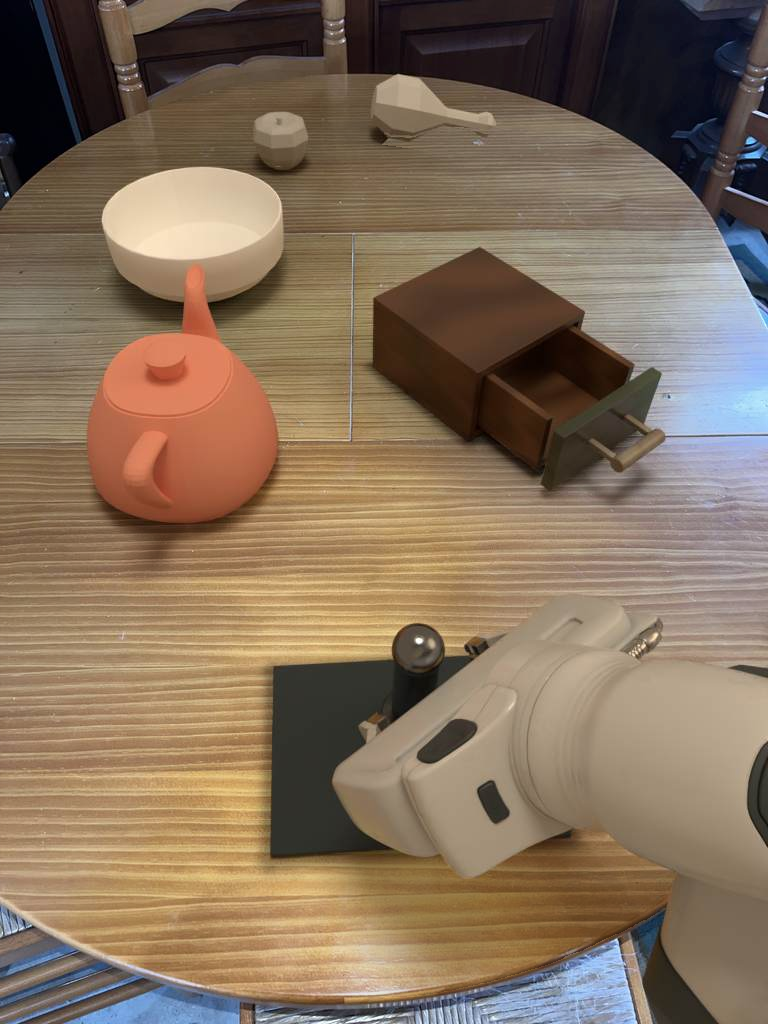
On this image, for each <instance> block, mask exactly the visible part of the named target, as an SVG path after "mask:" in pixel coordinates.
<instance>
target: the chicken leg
mask: <svg viewBox="0 0 768 1024" xmlns="http://www.w3.org/2000/svg"><path fill="white" fill-rule="evenodd" d="M370 119H371V121H372V122H373V123H374V124H375V125H376V126H377V127H378V129H379V130H380V131H381V132H382V131H383V132H385V133H388V134H390V135H394V134H395V135H410V136H413V135H416V134H419V133H422V132H425V131H429V130H432V129H435V128H437V129H439V128H441V127H449V128H454V127H464V128H479V129H483V130H492V129H494V128H495V129H496V127H497V122H496V119H495V117H494V116H493V113H491V112H489V111H483V112H479V113H475V112H470V111H464V110H460V109H455V108H449V107H447V106H446V105H445V104H444V103H443V102H442V101H441V100H440V99H439V97H438V96H437V95H435V94H434V92H433V91H432V90H431V89H430V88H429V87H428V86H427V85H426V84H425V83H424V82H423V81H422V79H421V78H419V77H414V76H409V75H404V74H400V73H397V74H395V75H394V76H391V77H390V78H387V79H386V80H385V81H382V82H380V83H379V84H376V85H375V88H374V91H373V95H372V100H371V105H370ZM438 127H439V128H438ZM435 130H436V129H435ZM468 131H469V132H470V130H468ZM383 132H382V133H383ZM473 132H474V133H476V135H477V136H480V137H481V138H487V137H488V136H490V135H491V134H492V133H493V132H491V133H490V134H483V133H480V132H477V131H473ZM426 134H427V133H425V134H422V135H419V136H416V137H412V138H405V137H390V136H386V138H387V139H393V140H398V141H403V142H408V143H410V142H412V141H413V140H416V139H418V138H420V137H422V136H424V135H426Z"/></svg>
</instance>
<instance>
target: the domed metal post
mask: <svg viewBox="0 0 768 1024" xmlns="http://www.w3.org/2000/svg"><path fill="white" fill-rule="evenodd" d="M445 655H446V646H445V642H444V639H443V637H442V635H441V634H440V632H439V631H438V630H437V629H436V628H434V627H433V626H431V625H429V624H427V623H423V622H413V623H410V624H407V625H405V626H403V627H402V628H401V629H399V631H398V632H397V633H396V634H395V636H394V638H393V640H392V643H391V656H392V660H394V672H393V690H392V692H391V693H390V694H389V695H388V696H387V697H386V699H385V701H384V703H383V706H382V715H384V716H386V717H387V719H388V721H389V722H390V724H392V723H393V722H395V721H396V720H397V719H399V718H400V717H401V716H402V715H404V714H405V713H406V712H408V711H409V710H410V709H411V708H413V707H414V706H415V705H416V704H418V703H419V702H420V701H422V700H423V699H424V698H425V697H427V696H428V695H429V694H431V693H432V692H433V691H434V690H436V689H437V683H438V676H439V668H440V665H441V663H442V661H443V659H444V657H445Z"/></svg>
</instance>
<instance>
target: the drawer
mask: <svg viewBox="0 0 768 1024" xmlns="http://www.w3.org/2000/svg"><path fill="white" fill-rule="evenodd" d="M635 365H636V364H635V363H633V361H631V360H629V359H627V358H625V357H624V356H622V355H621V354H619V353H618V352H616V351H615V350H613V349H612V348H610V347H608V346H607V345H605V344H604V343H602V342H600V341H598V340H597V339H596V338H594V337H592V336H591V335H589V334H588V333H586V332H585V331H584V330H583V331H582V329H581V330H580V329H578V328H576V327H575V326H573V325H571V326H569V327H568V328H566V329H564V330H562V331H561V332H559V333H557V334H555V335H554V336H552V337H550V338H548V339H547V340H545V341H543V342H541V343H540V344H538V345H536V346H534V347H533V348H531V349H529V350H528V351H526V352H524V353H522V354H521V355H519V356H517V357H515V358H514V359H512V360H510V361H508V362H507V363H505V364H503V365H501V366H500V367H498V368H496V369H495V370H493V371H491V372H489V373H488V374H486V375H484V376H483V379H482V386H481V393H480V400H479V407H478V414H477V421H476V425H478V426H479V427H480V428H481V429H483V430H484V431H485V432H484V433H486V434H488V435H489V436H491V438H493V440H494V439H495V440H496V441H497V442H499V444H501V445H503V446H504V447H505V448H506V449H507V450H508V451H510V452H511V453H512V454H513V455H515V456H516V457H518V458H519V459H521V460H522V462H524V463H526V464H527V465H528V466H529V467H531V468H532V469H534V470H535V471H537V470H538V469H540V468H541V467H543V466H544V465H545V466H544V467H543V468H544V469H543V473H542V476H541V477H542V478H541V481H540V485H541V486H542V487H543V488H544V489H546V490H547V491H549V492H552V491H553V490H555V489H556V488H558V487H559V486H561V485H562V484H563V483H565V482H567V480H569V479H570V478H572V477H574V476H575V475H576V474H578V473H580V472H581V471H582V470H584V469H585V468H587V467H588V466H590V465H591V464H592V463H594V462H595V461H596V460H598V459H599V458H602V457H603V458H605V460H607V461H609V464H610V467H611V469H612V470H613V471H614V472H616V473H619V474H621V473H623V472H624V471H626V470H627V469H628V468H630V467H631V466H633V465H634V464H635V463H636V462H638V461H639V460H641V459H642V458H644V457H645V456H646V455H648V454H649V453H651V452H652V451H653V450H654V449H656V448H657V447H659V446H661V445H662V444H663V443H664V442H665V441H666V438H667V437H666V434H665V432H664V430H662V429H661V428H654V429H652V428H650V427H649V426H647V425H646V424H645V422H646V420H647V418H648V413H649V411H650V408H651V406H652V402H653V400H654V397H655V394H656V392H657V389H658V387H659V384H660V380H661V377H662V375H663V372H661V371H659V370H658V369H656V368H655V367H653V366H651V367H649V368H648V369H646V370H645V371H643V372H641V373H640V374H639V375H637V376H636V377H634V378H632V375H633V372H634V369H635ZM631 378H632V379H631ZM637 432H639V434H642V435H643V437H641V438H640V439H638V440H637V441H636V442H634V443H632V444H631V445H630V446H628V447H627V448H626V449H624V450H623V451H621V452H620V453H618V454H616V453H614V452H613V451H612V449H614V448H615V447H616V446H618V445H619V444H621V443H622V442H624V441H625V440H627V439H628V438H630V437H631V436H633V435H634V434H635V433H637Z"/></svg>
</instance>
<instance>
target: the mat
mask: <svg viewBox="0 0 768 1024" xmlns="http://www.w3.org/2000/svg"><path fill="white" fill-rule="evenodd" d="M470 662H471V660H470V658H469V654H468V655H454V656H453V655H451V656H444V659H443V661H442V663H441V665H440V668H439V676H438V683H437V688H438V687H440V686H441V685H442V684H443V683H445V682H446V681H447V680H449V679H450V678H451V677H452V676H454V675H455V674H456V673H458V672H459V671H460V670H461V669H463V668H464V667H465V666H466V665H468V664H469V663H470ZM272 670H273V671H272V675H273V676H272V677H273V678H272V681H273V682H272V725H271V726H272V729H271V730H272V733H271V734H272V735H271V781H270V782H271V788H270V789H271V791H270V839H269V840H270V842H269V843H270V845H269V848H270V849H269V855H270V858H272V859H275V858H276V859H277V858H288V857H303V856H304V857H305V856H317V855H318V856H319V855H331V854H332V855H333V854H347V853H361V852H376V851H377V852H378V851H379V852H380V851H391V850H392V851H393V850H395V849H393V848H391V847H389V846H387V845H385V844H383V843H381V842H379V841H377V840H375V839H374V838H372V837H370V836H369V835H367V834H366V833H364V832H363V831H361V830H360V829H359V828H358V827H357V826H356V825H355V824H354V822H353V821H352V820H351V818H350V816H349V815H348V813H347V812H346V810H345V808H344V807H343V805H342V803H341V801H340V800H339V798H338V796H337V794H336V792H335V790H334V787H333V784H332V779H333V775H334V772H335V769H336V768H337V766H338V765H339V764H340V763H342V762H343V761H344V760H346V759H347V758H348V757H350V756H351V755H352V754H354V753H355V752H356V751H357V750H359V749H360V748H361V747H363V746H364V745H365V744H366V741H365V739H364V737H363V736H362V734H361V732H360V730H359V727H358V726H359V725H360V724H361V723H362V722H363V721H365V720H367V719H368V718H369V717H371V716H372V715H373V714H375V713H376V712H377V713H378V714H379V715H380V714H382V706H383V703H384V701H385V699H386V697H387V696H388V695H389V694H390V693H391V692H392V690H393V672H394V660H393V659H378V660H361V661H360V660H359V661H342V662H341V661H340V662H323V663H305V664H287V665H285V664H284V665H273V669H272ZM572 835H573V834H572V829H570V830H568V831H566V832H564V833H561V834H559V835H556V836H553V837H551V838H548V839H547V840H551V839H552V840H553V839H555V840H556V839H567V838H571V837H572Z"/></svg>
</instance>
